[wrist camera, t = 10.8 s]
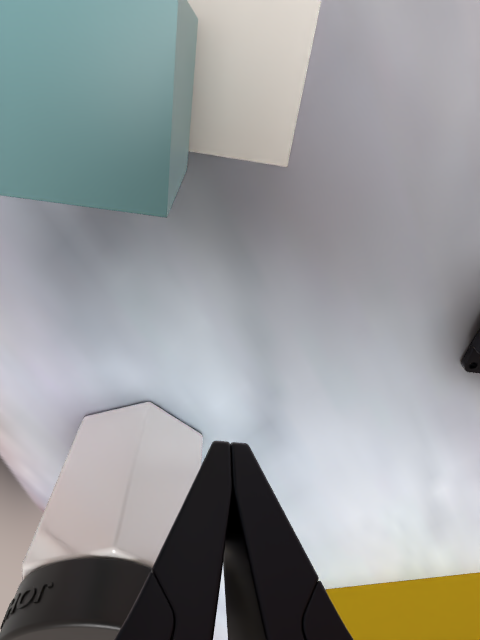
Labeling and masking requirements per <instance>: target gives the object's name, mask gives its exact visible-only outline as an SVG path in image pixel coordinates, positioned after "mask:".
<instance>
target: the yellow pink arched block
mask: <svg viewBox="0 0 480 640" xmlns="http://www.w3.org/2000/svg"><path fill="white" fill-rule="evenodd" d="M325 590H326V592H327V594H328V596H329V598H330V600H331V602H332V603H333V605H334V607H335V609H336V610H337V612H338V614H339V616H340V618H341V619H342V621H343V623H344V625H345V626H346V628H347V630H348V631H349V633H350V634H351V636H352V638H353V639H354V640H480V573H471V574H462V575H453V576H444V577H435V578H426V579H416V580H407V581H398V582H389V583H380V584H371V585H362V586H352V587H343V588H334V589H325Z"/></svg>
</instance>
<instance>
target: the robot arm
mask: <svg viewBox="0 0 480 640" xmlns="http://www.w3.org/2000/svg"><path fill="white" fill-rule="evenodd" d="M471 363H472V364H471ZM461 364H462V366H463V368H464V369H465V370H466V371H467V372H473V373H480V329H479V331H478V333H477V335H476V336H475V338H474V340H473V342H472V344H471V345H470V347H469V349H468V351H467V353H466V354H465V356H464V358H463V360H462V362H461ZM222 566H224V581H225V597H226V613H227V629H228V640H354V639H353V638H352V636H351V634H350V633H349V631H348V630H347V628H346V626H345V625H344V623H343V621H342V619H341V618H340V616H339V614H338V612H337V610H336V609H335V607H334V605H333V603H332V602H331V600H330V598H329V596H328V594H327V592H326V590H325V588H324V586H323V585H322V583H321V581H318V575H317V574H316V572H315V570H314V568H313V566H312V564H311V562H310V560H309V558H308V556H307V555H306V553H305V551H304V549H303V547H302V545H301V543H300V541H299V539H298V538H297V536H296V534H295V532H294V530H293V528H292V526H291V524H290V522H289V520H288V519H287V517H286V515H285V513H284V511H283V509H282V507H281V505H280V503H279V502H278V500H277V498H276V496H275V494H274V492H273V490H272V488H271V486H270V485H269V483H268V481H267V479H266V477H265V475H264V473H263V471H262V469H261V467H260V466H259V464H258V462H257V460H256V458H255V456H254V454H253V452H252V450H251V449H250V447H249V445H248V444H246V443H237V442H233V443H231V444H230V443H229V442H225V441H214V442H213V443H212V444H211V447H210V449H209V451H208V453H207V455H206V457H205V459H204V461H203V463H202V465H201V467H200V469H199V471H198V474H197V476H196V478H195V480H194V482H193V484H192V486H191V488H190V490H189V492H188V494H187V496H186V498H185V501H184V503H183V505H182V507H181V509H180V511H179V513H178V515H177V517H176V519H175V521H174V523H173V525H172V528H171V530H170V532H169V534H168V536H167V538H166V540H165V542H164V544H163V546H162V548H161V550H160V552H159V554H158V557H157V559H156V561H155V563H154V565H153V567H152V569H151V572H150V573H149V575H148V577H147V579H146V581H145V583H144V585H143V587H142V589H141V591H140V593H139V595H138V597H137V599H136V601H135V603H134V605H133V607H132V609H131V611H130V612H129V614H128V616H127V618H126V620H125V622H124V623H123V625H122V627H121V628H120V630H119V632H118V633H117V635H116V637H115V639H114V640H213V635H214V627H215V619H216V612H217V604H218V597H219V589H220V581H221V574H222ZM317 581H318V582H317Z"/></svg>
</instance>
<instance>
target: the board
mask: <svg viewBox="0 0 480 640" xmlns="http://www.w3.org/2000/svg"><path fill="white" fill-rule="evenodd" d="M187 1H188V3H189V4H190V6H191V8H192V9H193V11H194V13H195V14H196V16H197V18H198V28H197V42H196V55H195V69H194V82H193V96H192V109H191V123H190V137H189V150H188V151H189V152H195V153H201V154H208V155H214V156H220V157H227V158H233V159H239V160H245V161H252V162H258V163H264V164H271V165H277V166H283V167H287V165H288V160H289V156H290V151H291V146H292V141H293V136H294V131H295V126H296V122H297V117H298V112H299V107H300V102H301V97H302V92H303V87H304V83H305V78H306V73H307V68H308V63H309V58H310V53H311V49H312V44H313V39H314V34H315V29H316V24H317V19H318V14H319V10H320V5H321V0H187Z"/></svg>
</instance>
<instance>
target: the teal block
mask: <svg viewBox="0 0 480 640" xmlns="http://www.w3.org/2000/svg"><path fill="white" fill-rule="evenodd" d="M197 28H198V18H197V16H196V14H195V13H194V11H193V9H192V8H191V6H190V4H189V3H188V1H187V0H0V195H2V196H10V197H17V198H24V199H32V200H39V201H47V202H54V203H62V204H69V205H77V206H84V207H91V208H99V209H106V210H114V211H121V212H129V213H136V214H144V215H151V216H159V217H166V218H167V216H168V214H169V211H170V209H171V207H172V204H173V202H174V199H175V197H176V195H177V192H178V190H179V187H180V185H181V183H182V180H183V178H184V175H185V173H186V171H187V164H188V150H189V137H190V123H191V109H192V96H193V82H194V69H195V55H196V42H197Z"/></svg>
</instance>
